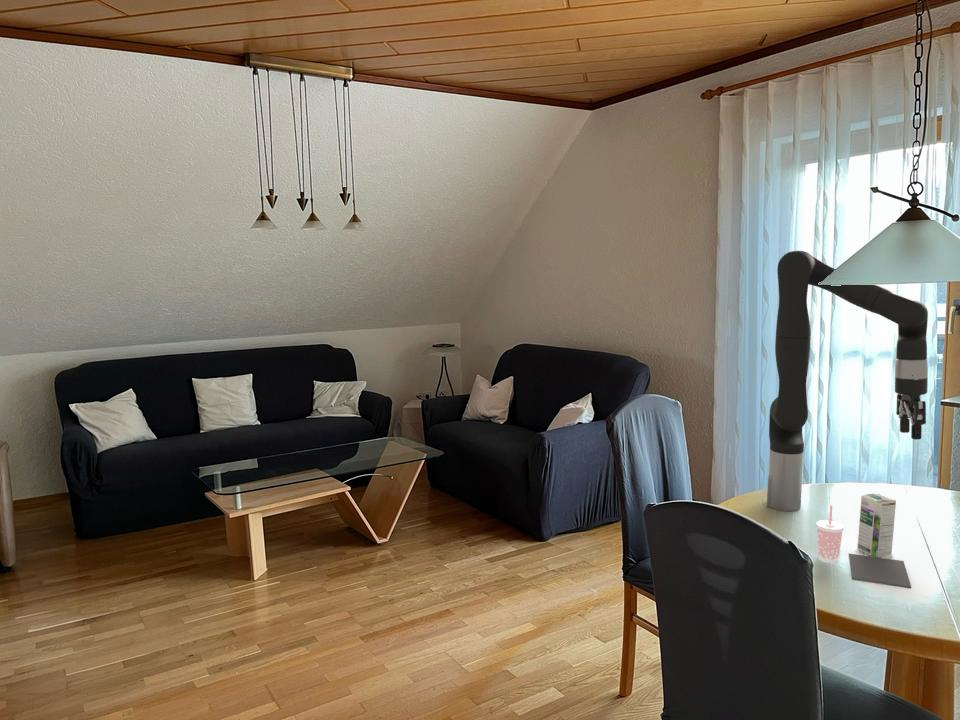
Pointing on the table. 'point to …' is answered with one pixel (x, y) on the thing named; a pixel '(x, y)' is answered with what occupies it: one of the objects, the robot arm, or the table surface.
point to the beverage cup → (829, 539)
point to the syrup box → (876, 525)
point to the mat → (879, 570)
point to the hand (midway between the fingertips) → (910, 435)
